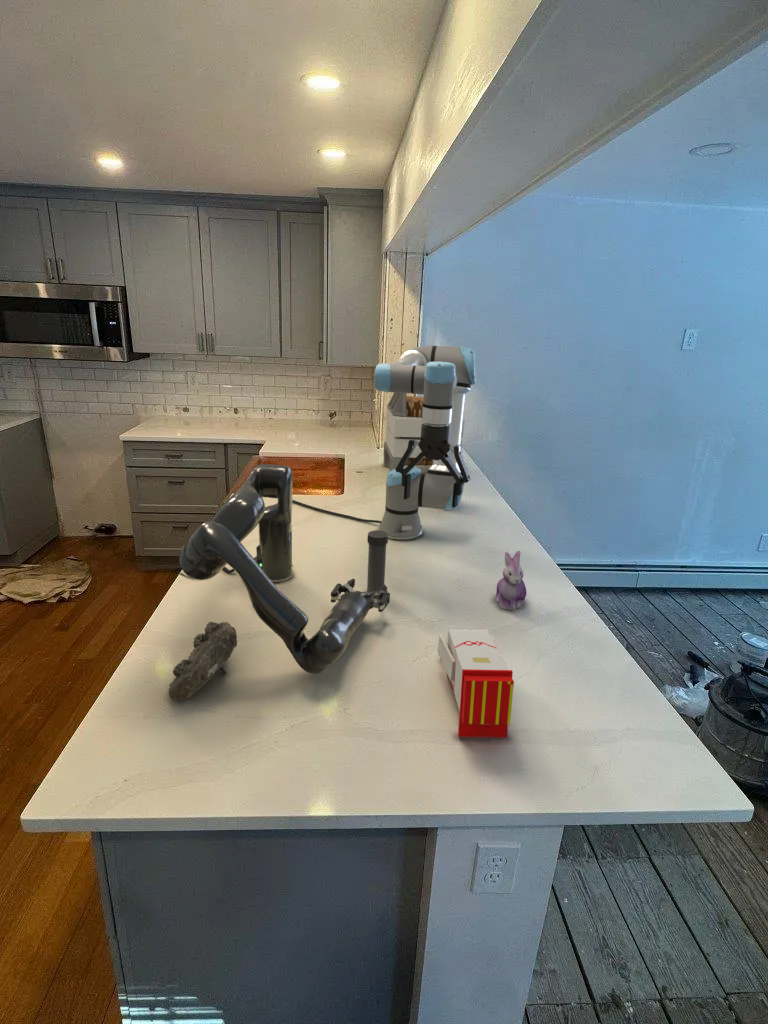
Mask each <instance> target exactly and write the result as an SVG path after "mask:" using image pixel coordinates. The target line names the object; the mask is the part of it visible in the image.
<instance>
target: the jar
mask: <svg viewBox="0 0 768 1024" xmlns="http://www.w3.org/2000/svg"><path fill="white" fill-rule="evenodd" d="M367 552H368V553H367V556H368V557H367V583H366V593H367V592H371V591H375V592H377V591H379V590H380V588H381V587H382V585H383V584H384V585H385V583H386V581H385V580H386V561H387V560H386V559H387V544H386V545H384V546H373V545H370V544H369V543H368V551H367ZM371 598H372V596H371ZM377 598H379V595H378V596H377Z"/></svg>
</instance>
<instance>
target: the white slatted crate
mask: <svg viewBox="0 0 768 1024" xmlns="http://www.w3.org/2000/svg"><path fill="white" fill-rule="evenodd" d="M407 394H408V393H395V392H393V394H392V395H391V398H390V400H389V402H388V404H387V405H386V413H385V414H386V415H385V423H386V428H385V438H384V442H383V466H384V467H388V468H389V472H390V471H391V470H393V469H396V467H397V465H398V464H399V462H400V460H401V459H402V457H403V455H404V453H405V452H406V450H407V448H408V442H409V440H411V439H415V440H417V441H420V440H421V425H422V424H423V422H422V411H423V399H424V396H415V395H414V396H413V395H412V396H411V395H407ZM464 429H465V419H464V418H463V421H462V431H461V442H460V445H461V454H462V453H463V442H464V441H463V440H462V439H463V438H464V431H465V430H464ZM421 452H422V451H421V450H420V448H419V446H417V447H416V448H414V450H413V452H412V454H411V455H410V457H409V459H408V461H407V462H406V464H405V466H406V467H407V466H408V465H409V464H410V463H411V462H412V461H413V460H414V459H415V458H416V457H417V456H418V455H419V454H420V453H421ZM432 464H433V459H427V458H426V457H424V458H423V459H422V460H421V461H420V462H419V463H418V464H417V465H416V466H415V467H417V466H418V467H430V466H431V465H432Z"/></svg>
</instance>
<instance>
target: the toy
mask: <svg viewBox="0 0 768 1024" xmlns="http://www.w3.org/2000/svg"><path fill="white" fill-rule="evenodd" d="M446 640H447V643H446V641H445V639H444V636H443V635H442V634H439V637H438V646H437V656H438V657H439V659H440V661H441V663H442V666H443V668H444V670H445V672H446V674H447V677H448V679H449V681H450V684H451V687H452V690H453V693H454V697H455V701H456V705H457V708H458V711H459V714H458V715H459V716H458V730H457V731H458V732H457V737H458V738H508V731H509V726H510V725H511V717H512V707H513V697H514V696H513V695H514V684H515V680H514V679H513V673H514V671H513V670H512V669H508V667H507V665H506V662H505V661H504V659H503V658H502V655H501V653H500V651H499V649H498V647H497V643H496V639H495V637H494V635H493V634H491V632H490V631H489V629H467V628H466V629H465V628H463V629H461V628H460V629H459V628H448V630H447V639H446Z"/></svg>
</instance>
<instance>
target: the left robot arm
mask: <svg viewBox="0 0 768 1024" xmlns="http://www.w3.org/2000/svg"><path fill="white" fill-rule="evenodd" d="M293 486H294V475H293V470H292V468H291V467H290V466H289V465H283V464H271V463H261V464H258V465H256V466H255V467H254V468H253V469H252V470H251V472H250V474H249V475H248V476H247V478H246V479H245V481H244V482H243V483H242V485H240V487H239V488H238V489H237V490H236V491H235V492H234V493H233V494H232V495H230V496H229V498H228V499H227V500H226V501H225V502H223V504H222V505H221V507H220V508H219V509H218V511H217V512H216V513H215V514H214V516H213V518H212V519H211V520H210V521H205V522H204V523H201V525H199V526H198V528H196V530H195V531H194V532H193V533H192V535H191V536H190V537H189V538H188V540H187V541H185V543H184V544H183V546H182V547H181V549H180V552H179V557H178V560H179V561H178V562H179V566H177V567H175V568H174V569H173V571H174V572H177V571H179V570H181V571H182V572H183V573H184V574H185V575H186V576H187V577H189V578H191V579H193V580H196V581H207V580H210V579H213V578H214V577H216V576H217V575H219V574H220V573H221V572H222V571H223V570H224V572H226V574H227V573H228V574H232V573H235V572H236V574H237V575H238V577H239V578H240V580H241V581H242V583H243V585H244V588H245V589H246V592H247V594H248V595H247V596H248V598H249V599H250V603H251V606H252V608H253V610H254V612H255V613H256V615H257V616H258V618H259V619H260V620H261V621H262V622H263V623H264V624H265V625H266V626H267V627H268V628H269V629H270V630H271V631H272V632H273V633H274V634H276V635H277V636H278V637H279V638H280V639H281V640H282V641H283V643H284V645H285V647H286V648H287V650H288V651H289V653H290V654H291V656H292V657H293V659H294V661H295V662H296V663H297V665H298V666H299V667H300V669H302V671H304V672H306V673H308V674H311V675H320V674H322V673H324V671H326V670H327V669H328V668H330V666H331V665H332V664H334V663H335V662H336V661H337V660H338V659H340V658H341V657H342V655H343V654H344V653H345V652H346V650H347V647H348V645H349V642H350V641H349V640H350V639H351V637H352V636H353V634H354V632H356V630H358V629H359V627H360V625H361V624H362V623H363V621H364V620H365V618H366V616H367V615H368V613H369V612H370V610H372V609H377V611H378V612H379V613H383V612H384V611H385V609H386V608H387V607H388V605H389V604H390V603H391V602H390V598H391V593H390V592H388V586H387V585H386V584H385V583H384V584H383V585H382V587H381V588H380V590H379V591H377V592H375V591H371V592H367V591H360V590H355V589H354V587H355V586H356V579H355V578H351V579H349V580H348V581H347V582H346V583H344V584H342V583H336V585H335V586H334V587H333V589H332V590H331V592H330V603H335V604H334V605H333V607H332V608H331V609H330V611H329V613H328V615H327V616H326V617H325V619H324V620H323V621H322V623H321V625H320V627H319V630H317V631H316V633H314V635H312V636H311V637H310V638H309V639H308V637H307V636H306V634H305V632H304V630H305V629H306V627H307V626H308V624H309V617H308V615H307V614H306V613H305V612H304V611H303V610H302V609H301V608H300V607H299V606H298V605H296V604H295V602H293V601H292V600H291V599H290V598H289V597H288V596H286V594H284V593H283V591H282V590H281V589H279V587H277V585H276V584H275V583H280V582H286V581H288V580H290V579H292V578H293V575H294V570H293V568H294V564H293V523H292V522H293V521H292V520H293V518H292V517H293V516H292V515H293V502H292V500H293V490H294V489H293V488H294V487H293ZM264 498H265V499H266V498H267V499H277V503H275V504H271V505H268V506H266V503H265V501H264ZM257 526H258V545H256V548H255V549H256V550H255V551H256V556H254V557H253V556H252V555H251V553H250V552H249V551H248V550H247V548H246V547H245V546H244V545H243V543H242V541H244V540H245V538H247V537H248V536H249V535H250V534H251V533H252V532H253V530H255V529H256V528H257ZM226 566H229V567H230V568H231V569H229V568H227V567H226ZM342 593H343V594H342ZM378 595H379V598H377V596H378ZM371 596H372V597H371Z"/></svg>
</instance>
